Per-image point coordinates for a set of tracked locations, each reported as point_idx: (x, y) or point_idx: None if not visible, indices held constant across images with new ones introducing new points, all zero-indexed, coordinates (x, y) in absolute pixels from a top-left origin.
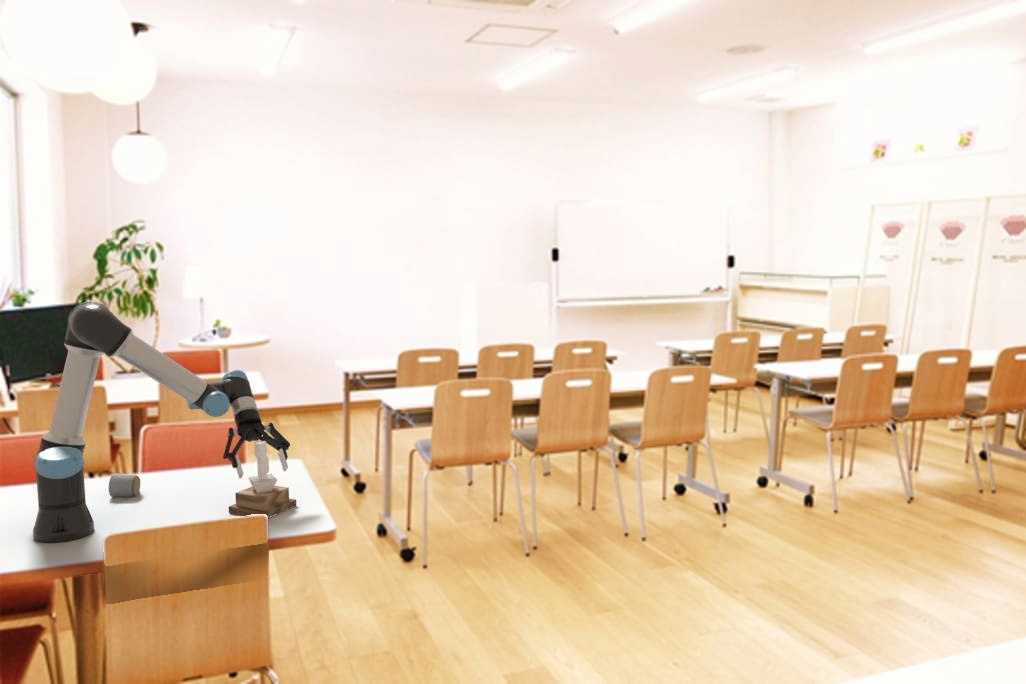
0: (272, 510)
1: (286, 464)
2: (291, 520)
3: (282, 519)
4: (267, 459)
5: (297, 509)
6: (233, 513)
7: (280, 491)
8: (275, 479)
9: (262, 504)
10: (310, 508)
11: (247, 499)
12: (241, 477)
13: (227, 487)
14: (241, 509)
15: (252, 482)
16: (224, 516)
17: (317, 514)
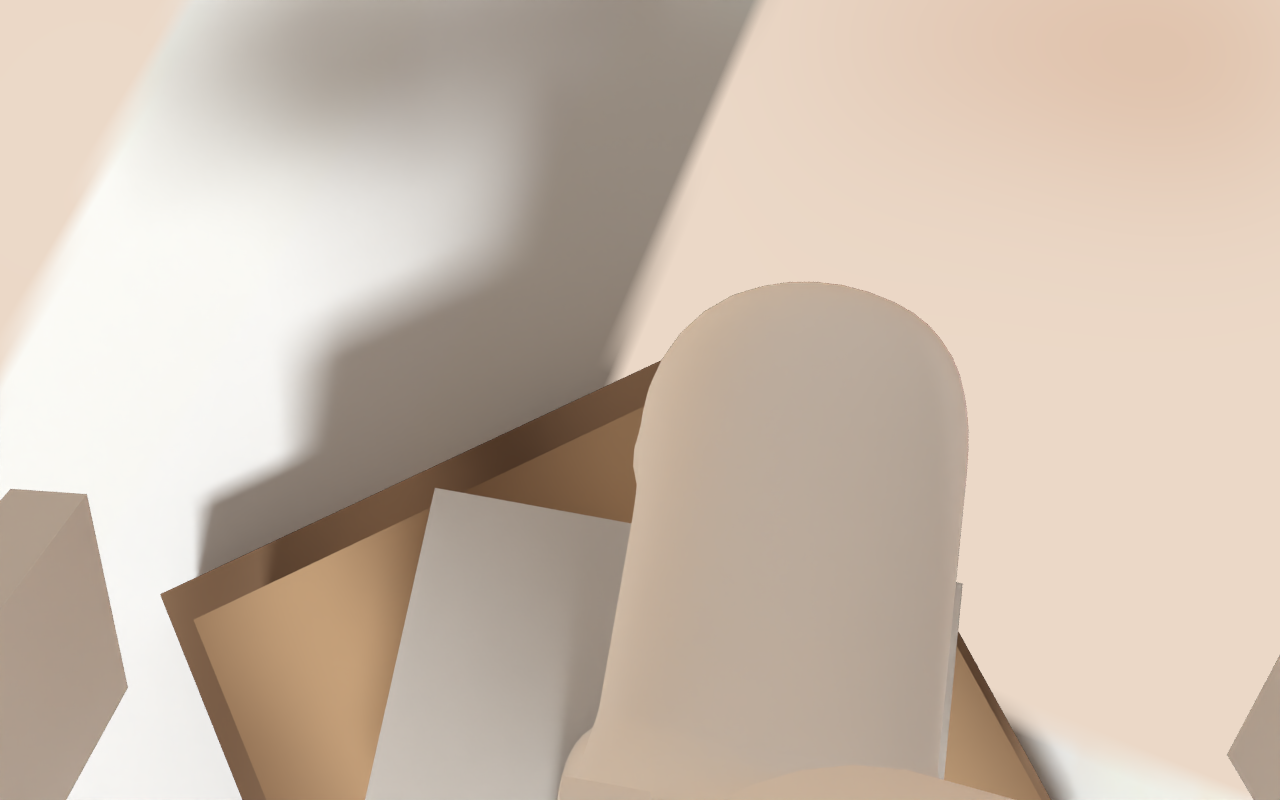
0: (650, 368)
1: (2, 538)
2: (525, 125)
3: (593, 220)
4: (734, 298)
5: (261, 452)
6: None
7: (413, 517)
8: (460, 528)
9: None
10: (107, 382)
11: None
12: (1255, 724)
13: None
14: (985, 686)
15: (956, 629)
16: (1156, 791)
17: (174, 123)
